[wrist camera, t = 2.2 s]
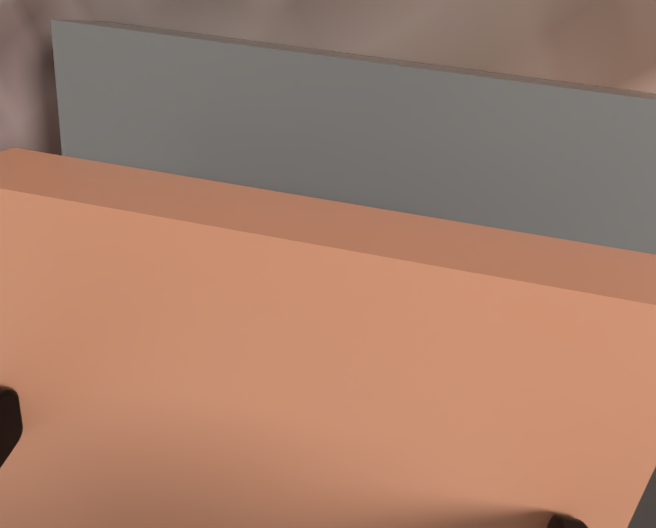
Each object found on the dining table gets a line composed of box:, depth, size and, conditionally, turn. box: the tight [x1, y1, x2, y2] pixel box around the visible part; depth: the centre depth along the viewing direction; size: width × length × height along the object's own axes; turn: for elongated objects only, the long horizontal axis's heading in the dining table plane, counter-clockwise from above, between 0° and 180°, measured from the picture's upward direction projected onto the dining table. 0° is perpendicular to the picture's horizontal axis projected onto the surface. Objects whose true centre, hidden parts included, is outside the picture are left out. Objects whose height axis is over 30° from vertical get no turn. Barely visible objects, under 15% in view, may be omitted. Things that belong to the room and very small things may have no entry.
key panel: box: [50, 20, 656, 528], centre depth 14 cm, size 12×30×2 cm, turn 84°
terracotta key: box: [0, 148, 656, 528], centre depth 11 cm, size 8×11×4 cm
